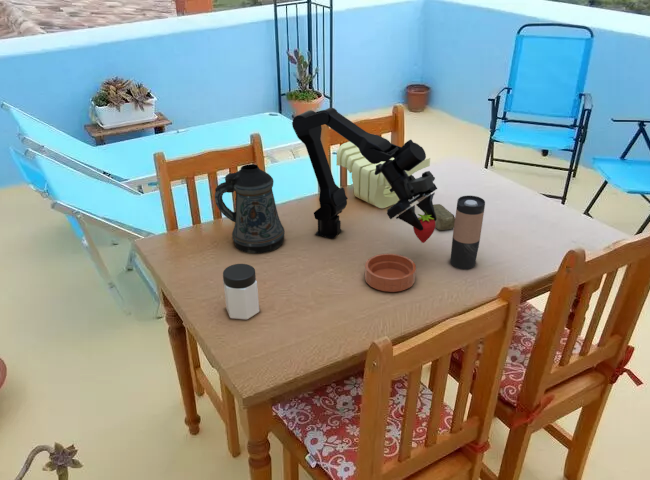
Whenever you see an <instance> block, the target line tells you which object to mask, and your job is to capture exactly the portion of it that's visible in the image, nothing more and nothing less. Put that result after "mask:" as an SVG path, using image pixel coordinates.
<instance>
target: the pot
mask: <svg viewBox="0 0 650 480" xmlns="http://www.w3.org/2000/svg"><path fill="white" fill-rule="evenodd" d="M416 272H417V265H416V263H415V261H413V260H412V259H410V258H409V257H407V256H405V255H403V254H398V253H390V252H389V253H379V254H376V255H373V256H371V257H369V258H367V260H366V261H365V264H364V281H365V283H366V284H367V285H368V286H370V287H371V288H373V289H375V290H378V291H382V292H390V293H394V292H401V291H402V292H403V291H404V290H408V289H409V288H411V287H412V286H413V285H414V284H415V282H416Z"/></svg>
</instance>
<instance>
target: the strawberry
mask: <svg viewBox="0 0 650 480" xmlns="http://www.w3.org/2000/svg"><path fill="white" fill-rule="evenodd" d="M426 214H427V213H426ZM417 215H418V216H419V217H418V219H419V221H420V222H421V224H422V226H423V228H424V229H423V230H422V231H420V230H418V229H417V228H415V227H413V226H412V229H413V232H414V233H413V234H414V235H415V236H416V238H417V239H418V240H419V241H420V243H422V244H424V243H426V242H427V241H428V240H429V239H430V238H431V236H432V235H433V234H434V232H435V229H436V225H435V221H434V218H431V217H430V216H431V215H427V216H425V215H424V214H420V213H417Z"/></svg>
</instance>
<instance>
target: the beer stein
mask: <svg viewBox="0 0 650 480" xmlns="http://www.w3.org/2000/svg"><path fill="white" fill-rule="evenodd" d="M273 187H274V178H273V177H272V175H270V173H268V172H266V171H265V170H262V169H261V168H260V167H259V166H258V165H257V164H253V163H252V164H251V163H249V164H244V165H242V166H241V167H240V169H239V170H237V171H236V172H232V173H231V172H230V173H227V174H226V175H225V177H224V182H221V183H219V184H218V185H217V186H216V188H215V190H214V191H215V193H214V202H215V205H216V207H217V208H218V210H219V211H220V213H221V214H222V215H223V216H224V217H225V218H227V219H228V220H230V221H231V222H233V223H234V226H233V229H232V231H231V237H232V238H231V239H232V241H233V242H234V246H235V248H236V249H238V250H239V251H240V252H243V253H246V254H264V253H269V252H273V251H275V250H277V249H279V248H280V247H281V246H282V245H283V242H284V239H285V238H284V237H285V233H286V232H285V228H284V226H283V224H282V222H281V219H280V216H279V213H278V209H277V205H276V199H275V196H274V191H273ZM234 192H235V211H232V210H231V209H230V208H229V207H228V206H227V205H226V203H225V202H224V199H223V195H225V194H226V193H231V194H232V193H234Z"/></svg>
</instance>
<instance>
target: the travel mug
mask: <svg viewBox="0 0 650 480" xmlns="http://www.w3.org/2000/svg"><path fill="white" fill-rule="evenodd" d="M456 201H457V202H456V208H455V209H456V210H455V215H454V217H455V223H454V228H453V232H452V238H451V239H452V240H451V249H450V251H451V252H450V264H451V266H452V267H454V268H456V269H460V270H471V269H473V268H474V267H475V266H476V262H477V256H478V251H479V246H480V241H481V237H482V228H483V221H484V215H485V207H486V201H485V199H484V198H482V197H479V196H476V195H462V196H460V197H458V198H457V200H456Z"/></svg>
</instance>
